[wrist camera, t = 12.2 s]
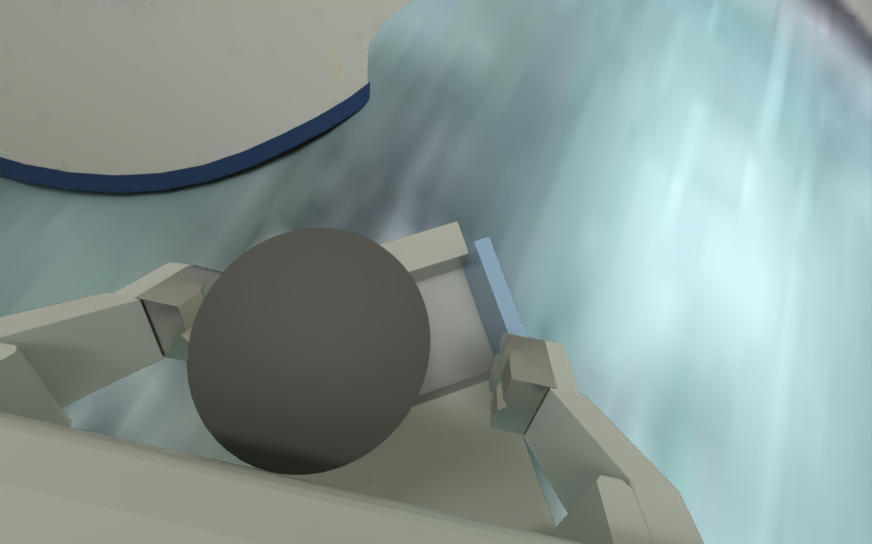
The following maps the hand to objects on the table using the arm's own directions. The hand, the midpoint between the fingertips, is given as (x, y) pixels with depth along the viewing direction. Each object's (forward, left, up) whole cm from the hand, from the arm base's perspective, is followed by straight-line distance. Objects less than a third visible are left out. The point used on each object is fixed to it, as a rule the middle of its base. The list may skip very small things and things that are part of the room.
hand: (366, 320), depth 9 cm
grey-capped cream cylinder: (+1, 0, -6) cm, 6 cm away
